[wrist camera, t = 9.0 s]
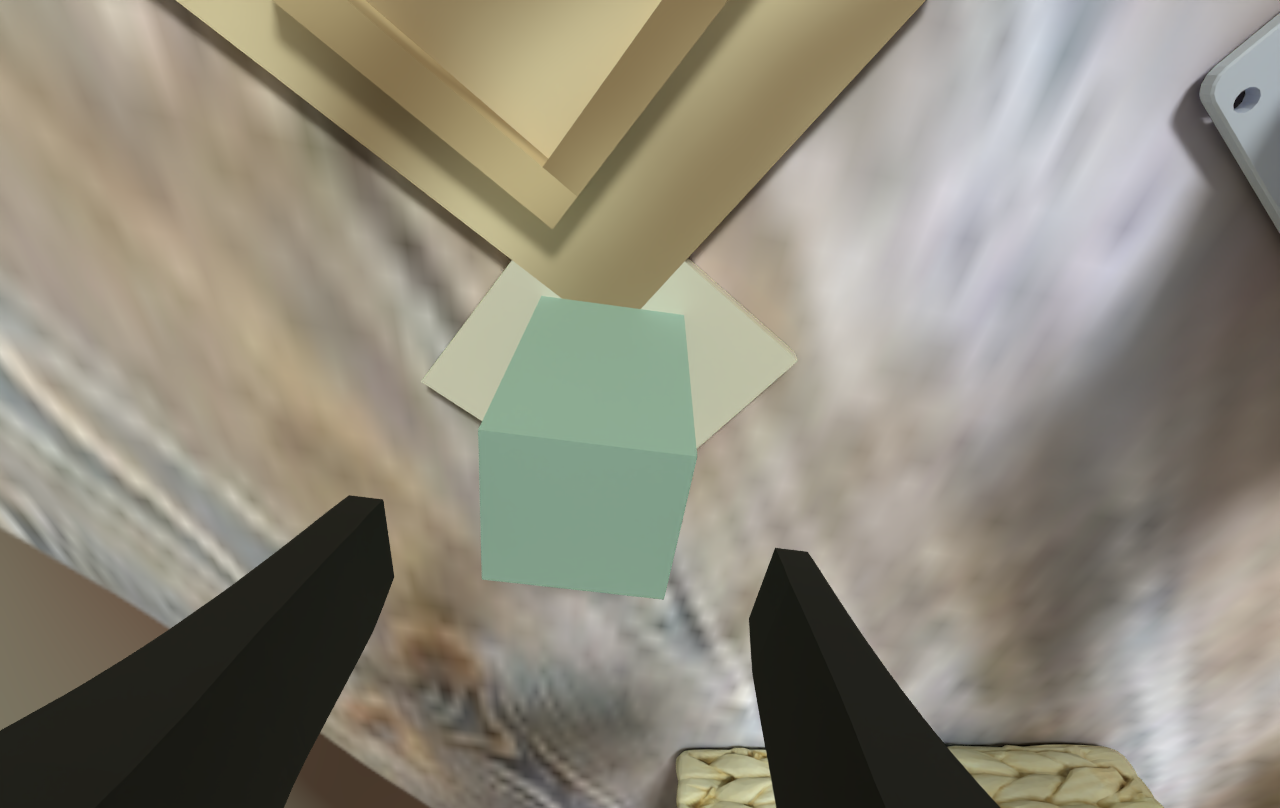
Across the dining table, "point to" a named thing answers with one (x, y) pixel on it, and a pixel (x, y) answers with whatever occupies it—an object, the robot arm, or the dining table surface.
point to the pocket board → (571, 110)
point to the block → (588, 451)
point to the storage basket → (1012, 775)
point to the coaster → (714, 321)
